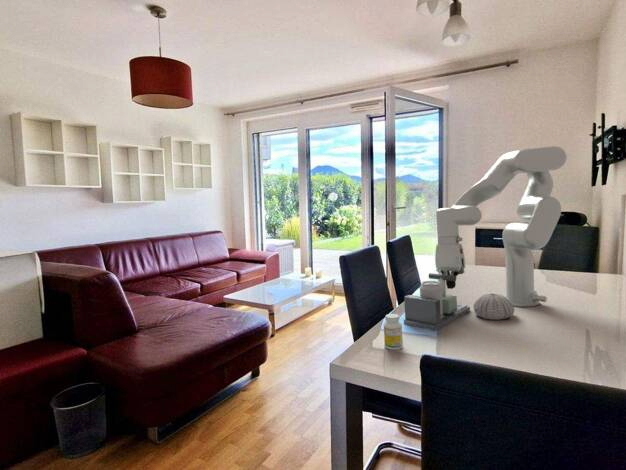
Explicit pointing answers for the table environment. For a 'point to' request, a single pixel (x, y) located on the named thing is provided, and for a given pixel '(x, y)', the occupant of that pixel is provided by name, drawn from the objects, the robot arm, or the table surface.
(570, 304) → the table surface
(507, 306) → the sea urchin shell
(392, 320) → the supplement bottle
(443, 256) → the robot arm
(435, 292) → the can
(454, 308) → the grey-green handled block
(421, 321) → the base
